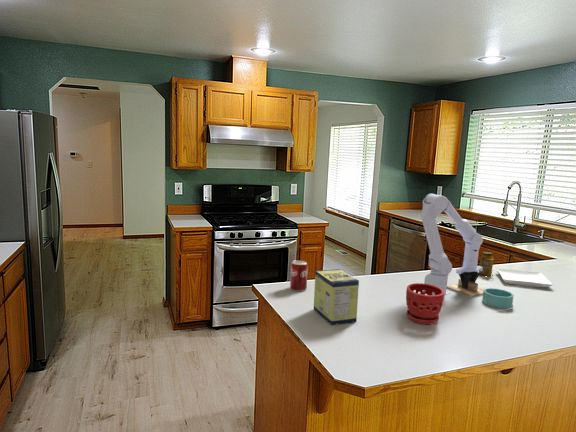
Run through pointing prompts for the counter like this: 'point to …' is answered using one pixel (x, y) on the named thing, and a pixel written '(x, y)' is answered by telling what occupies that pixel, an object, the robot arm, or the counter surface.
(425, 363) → the counter surface
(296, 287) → the soda can
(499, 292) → the teal bowl
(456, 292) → the grey mat
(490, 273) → the condiment
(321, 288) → the protein box
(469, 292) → the oak lid
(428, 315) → the plant pot
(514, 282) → the salad plate
